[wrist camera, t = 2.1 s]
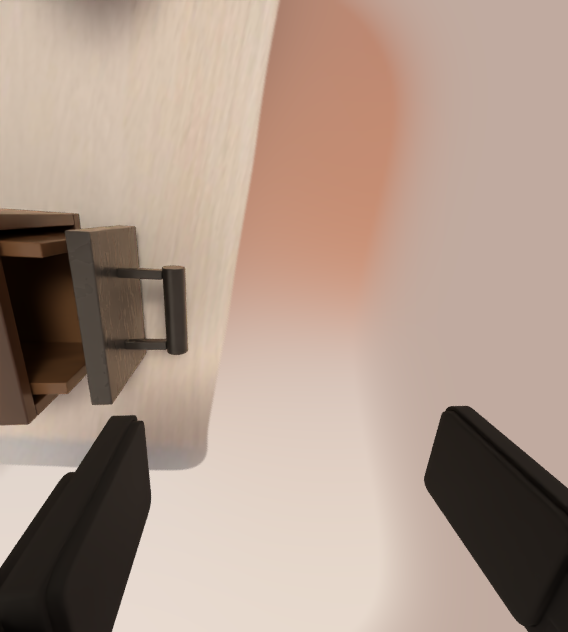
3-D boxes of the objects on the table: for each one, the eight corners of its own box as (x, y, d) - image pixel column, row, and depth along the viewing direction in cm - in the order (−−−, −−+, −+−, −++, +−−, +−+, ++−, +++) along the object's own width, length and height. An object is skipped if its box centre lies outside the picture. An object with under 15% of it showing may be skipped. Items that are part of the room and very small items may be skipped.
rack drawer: (193, 229, 23) (173, 236, 16) (196, 353, 26) (180, 403, 19) (-27, 216, 20) (-161, 217, 14) (7, 353, 24) (-88, 409, 17)
